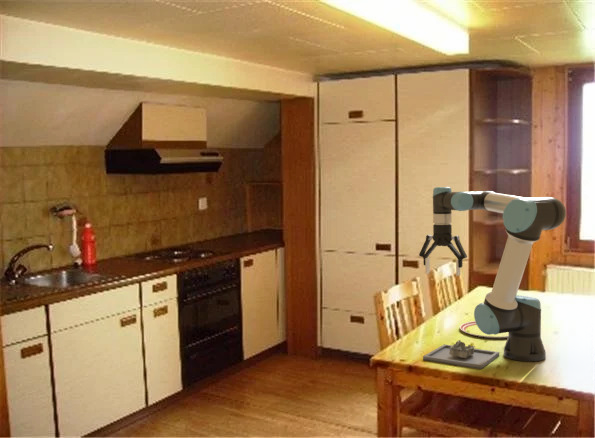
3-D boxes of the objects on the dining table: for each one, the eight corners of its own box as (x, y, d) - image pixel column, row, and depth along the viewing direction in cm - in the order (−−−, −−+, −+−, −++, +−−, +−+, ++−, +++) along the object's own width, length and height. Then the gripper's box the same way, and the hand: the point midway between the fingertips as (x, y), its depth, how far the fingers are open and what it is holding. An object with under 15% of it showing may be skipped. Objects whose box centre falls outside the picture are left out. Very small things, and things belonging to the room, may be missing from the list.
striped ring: (529, 343, 258) (529, 335, 258) (461, 341, 264) (461, 333, 264) (519, 328, 285) (519, 321, 285) (458, 326, 291) (458, 319, 290)
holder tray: (499, 355, 240) (499, 352, 240) (480, 369, 224) (480, 365, 224) (444, 347, 253) (444, 344, 253) (423, 360, 237) (423, 356, 237)
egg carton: (459, 349, 245) (459, 339, 245) (477, 353, 240) (477, 343, 240) (446, 354, 237) (446, 344, 237) (464, 359, 233) (464, 348, 232)
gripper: (474, 223, 256) (474, 275, 257) (418, 222, 271) (419, 271, 272) (468, 225, 250) (468, 277, 251) (411, 223, 265) (411, 273, 266)
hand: (442, 274), depth 262 cm, fingers open, 13 cm apart
